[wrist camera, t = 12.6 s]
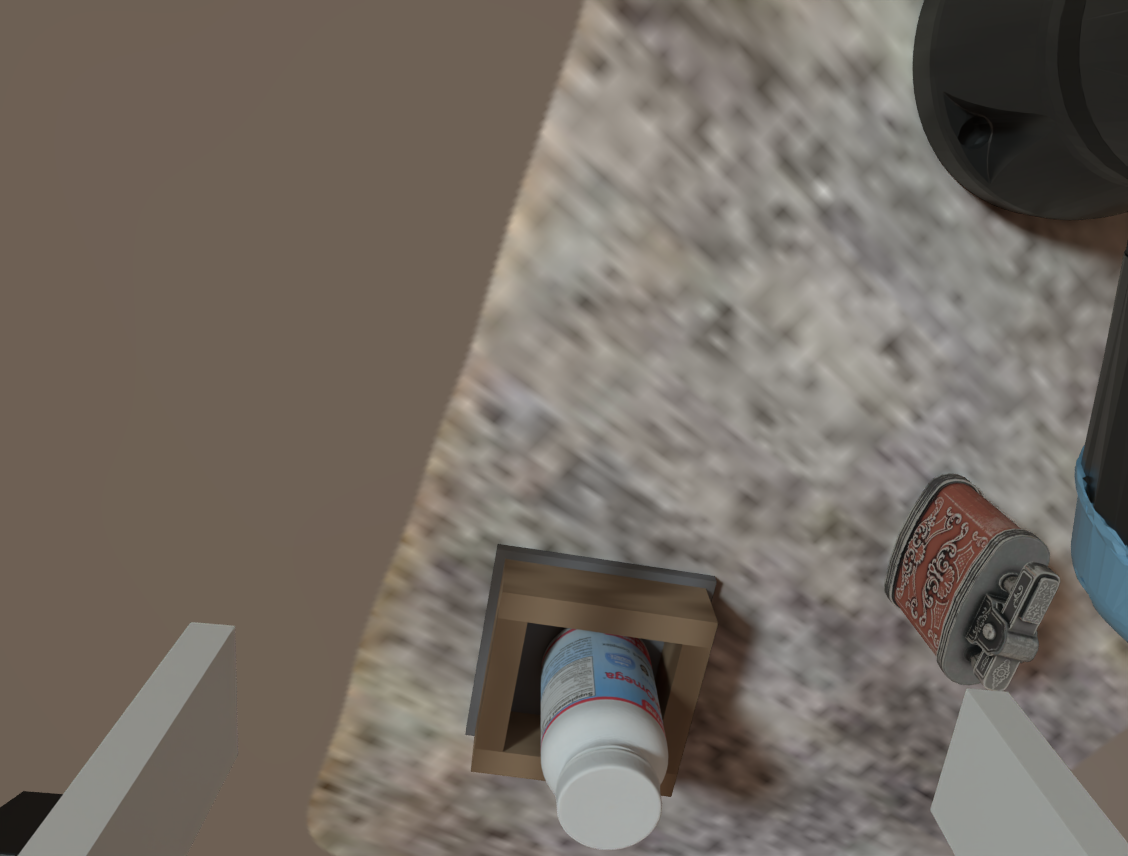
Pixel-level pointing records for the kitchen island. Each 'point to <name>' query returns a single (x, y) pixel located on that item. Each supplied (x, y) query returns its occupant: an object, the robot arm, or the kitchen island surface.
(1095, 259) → the kitchen island surface
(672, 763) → the socket
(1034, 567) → the lighter
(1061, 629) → the kitchen island surface
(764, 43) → the kitchen island surface
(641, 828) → the pill bottle
